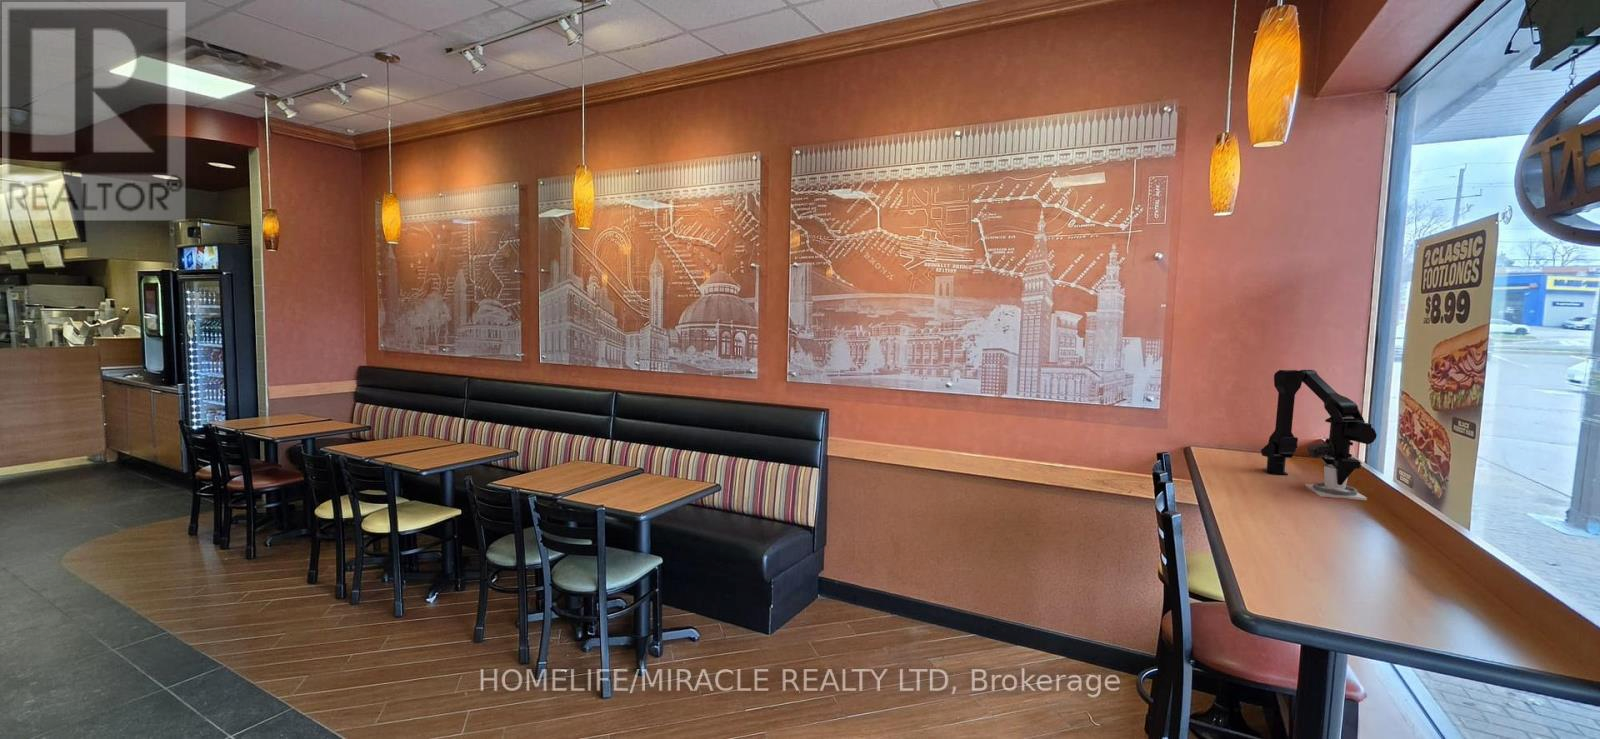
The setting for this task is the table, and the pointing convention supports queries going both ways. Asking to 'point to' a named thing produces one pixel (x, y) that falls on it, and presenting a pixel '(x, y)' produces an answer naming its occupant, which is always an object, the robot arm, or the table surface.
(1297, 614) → the table surface
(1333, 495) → the coaster
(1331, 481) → the white cup
